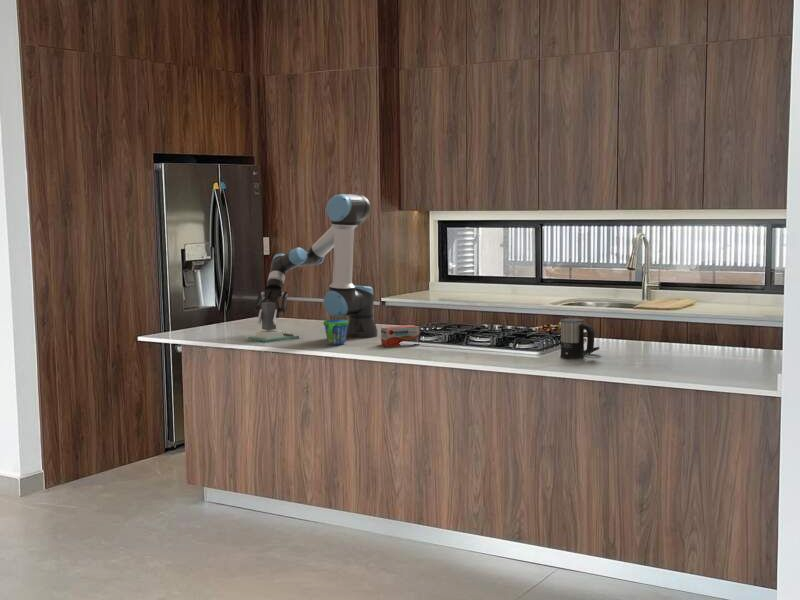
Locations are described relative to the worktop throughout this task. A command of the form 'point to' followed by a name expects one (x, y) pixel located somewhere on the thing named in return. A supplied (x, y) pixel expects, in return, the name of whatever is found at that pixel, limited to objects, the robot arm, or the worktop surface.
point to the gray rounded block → (268, 315)
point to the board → (272, 336)
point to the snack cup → (336, 331)
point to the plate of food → (551, 327)
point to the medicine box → (398, 334)
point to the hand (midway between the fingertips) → (266, 322)
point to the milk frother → (576, 338)
